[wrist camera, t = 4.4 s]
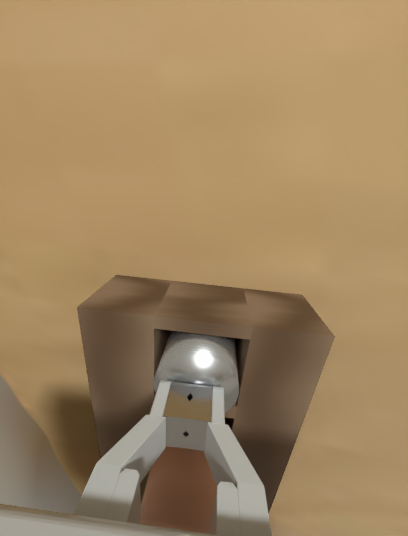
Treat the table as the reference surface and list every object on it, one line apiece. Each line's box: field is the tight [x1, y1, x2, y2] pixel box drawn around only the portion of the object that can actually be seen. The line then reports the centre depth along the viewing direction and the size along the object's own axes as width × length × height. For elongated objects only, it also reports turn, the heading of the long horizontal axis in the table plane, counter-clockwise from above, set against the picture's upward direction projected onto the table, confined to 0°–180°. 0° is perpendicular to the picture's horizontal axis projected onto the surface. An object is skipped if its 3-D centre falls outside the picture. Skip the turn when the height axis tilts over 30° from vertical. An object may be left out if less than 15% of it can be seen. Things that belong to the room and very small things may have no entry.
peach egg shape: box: [139, 446, 217, 534], centre depth 11 cm, size 4×4×4 cm
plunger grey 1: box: [154, 331, 239, 412], centre depth 12 cm, size 4×4×4 cm
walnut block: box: [77, 275, 335, 514], centre depth 15 cm, size 12×17×4 cm
